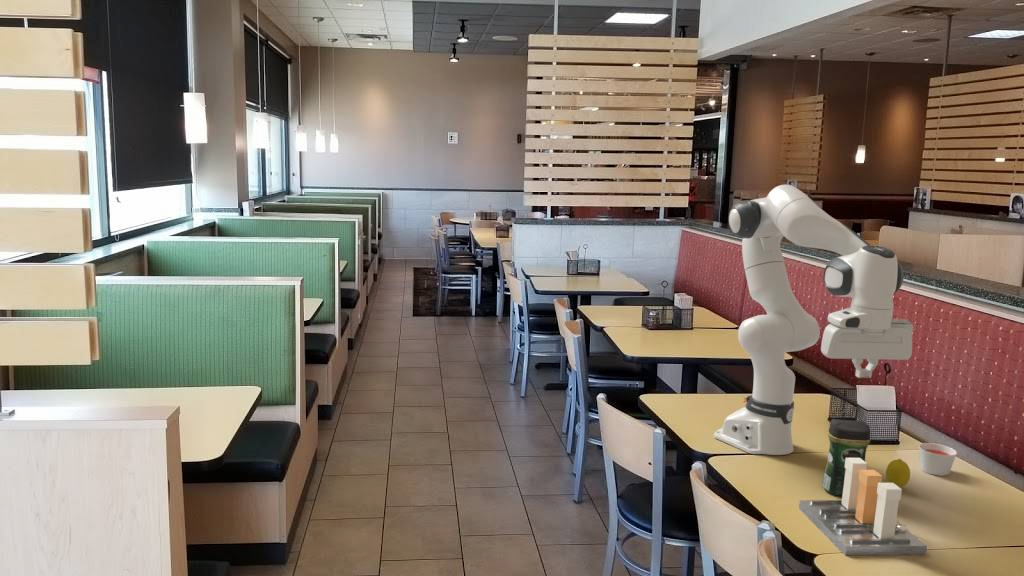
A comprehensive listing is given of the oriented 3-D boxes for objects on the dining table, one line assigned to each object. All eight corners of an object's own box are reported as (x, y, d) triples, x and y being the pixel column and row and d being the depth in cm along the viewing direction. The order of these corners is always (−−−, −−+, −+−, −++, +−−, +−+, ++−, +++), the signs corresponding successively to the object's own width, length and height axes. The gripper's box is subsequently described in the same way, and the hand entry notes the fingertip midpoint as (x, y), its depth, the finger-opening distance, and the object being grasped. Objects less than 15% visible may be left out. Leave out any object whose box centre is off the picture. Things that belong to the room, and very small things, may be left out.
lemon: (910, 494, 199) (914, 464, 198) (887, 491, 200) (891, 461, 199) (904, 485, 204) (908, 456, 203) (881, 482, 205) (885, 453, 204)
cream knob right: (880, 539, 170) (886, 489, 168) (871, 531, 173) (878, 482, 171) (895, 539, 170) (902, 489, 168) (886, 531, 173) (893, 482, 171)
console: (845, 555, 167) (846, 541, 166) (798, 508, 188) (800, 496, 188) (925, 554, 168) (927, 541, 168) (870, 508, 190) (872, 496, 190)
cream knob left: (847, 509, 183) (853, 463, 181) (840, 503, 187) (845, 457, 185) (861, 509, 184) (867, 463, 182) (853, 503, 187) (859, 457, 185)
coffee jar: (857, 486, 203) (866, 417, 199) (867, 499, 195) (876, 427, 192) (818, 483, 204) (826, 414, 200) (826, 496, 196) (835, 424, 193)
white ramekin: (917, 474, 213) (920, 451, 211) (914, 462, 221) (917, 440, 220) (955, 480, 209) (958, 457, 208) (951, 468, 218) (954, 446, 216)
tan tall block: (861, 524, 176) (867, 475, 174) (853, 517, 180) (859, 469, 178) (876, 524, 177) (882, 475, 175) (868, 517, 180) (874, 469, 178)
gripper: (906, 316, 183) (898, 374, 186) (821, 314, 182) (814, 372, 184) (922, 322, 177) (914, 381, 180) (834, 320, 175) (827, 380, 178)
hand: (863, 377), depth 182 cm, fingers closed
